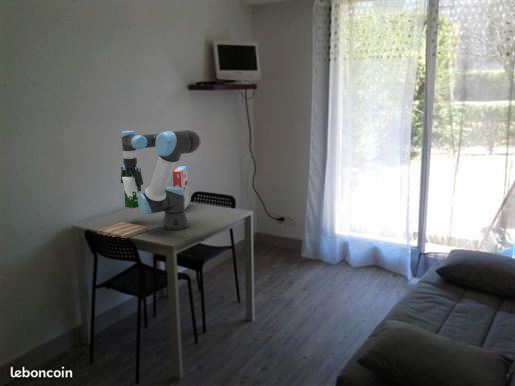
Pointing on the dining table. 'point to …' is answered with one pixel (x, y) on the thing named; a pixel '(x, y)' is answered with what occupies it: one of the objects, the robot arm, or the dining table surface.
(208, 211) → the dining table surface
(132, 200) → the soya milk
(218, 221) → the dining table surface
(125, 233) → the wooden cutting board
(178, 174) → the game box
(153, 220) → the dining table surface
